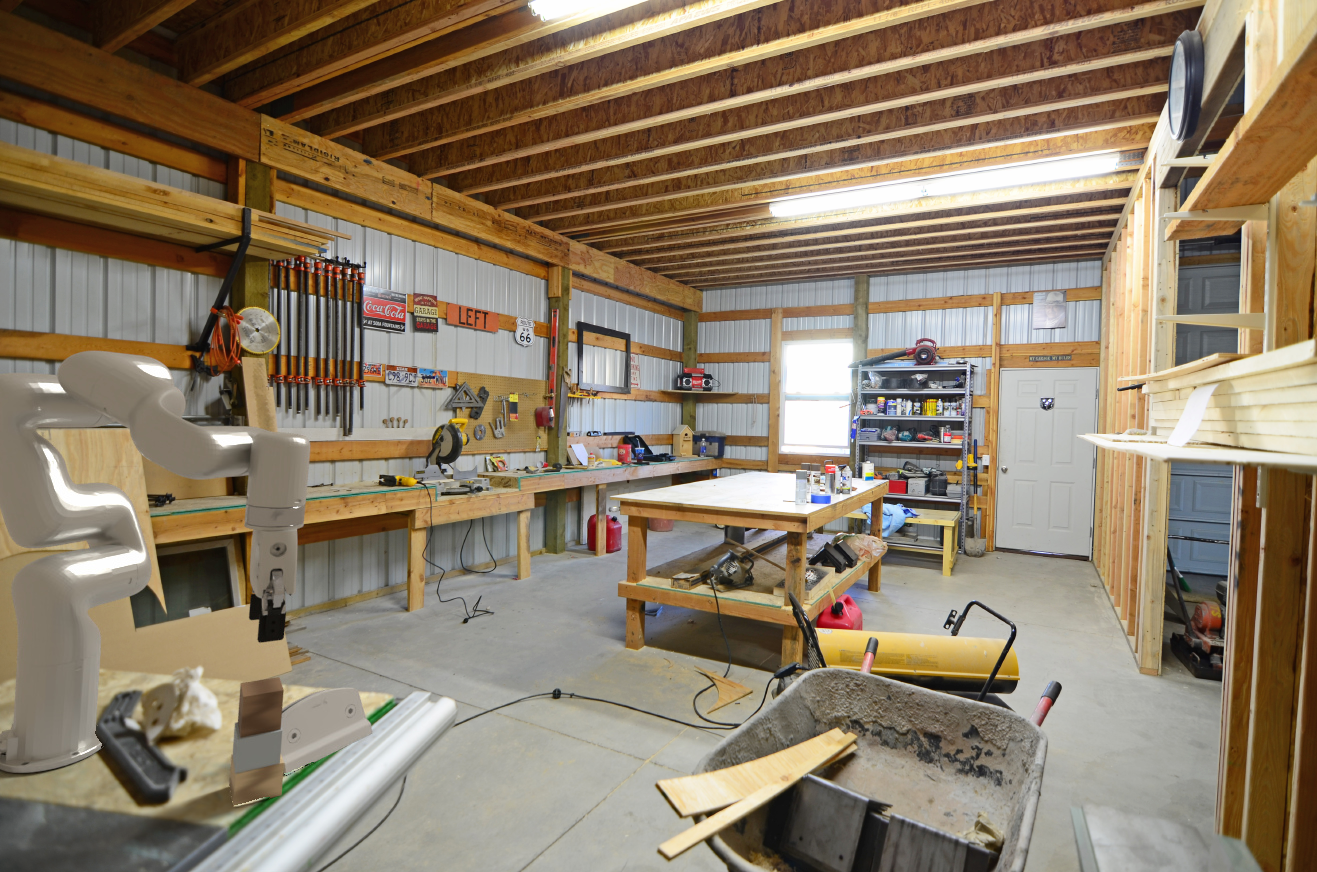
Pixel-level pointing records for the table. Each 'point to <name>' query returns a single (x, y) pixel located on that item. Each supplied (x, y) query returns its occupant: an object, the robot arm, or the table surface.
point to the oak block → (256, 783)
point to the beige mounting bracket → (321, 726)
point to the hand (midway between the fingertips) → (265, 629)
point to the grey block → (256, 750)
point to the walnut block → (260, 706)
